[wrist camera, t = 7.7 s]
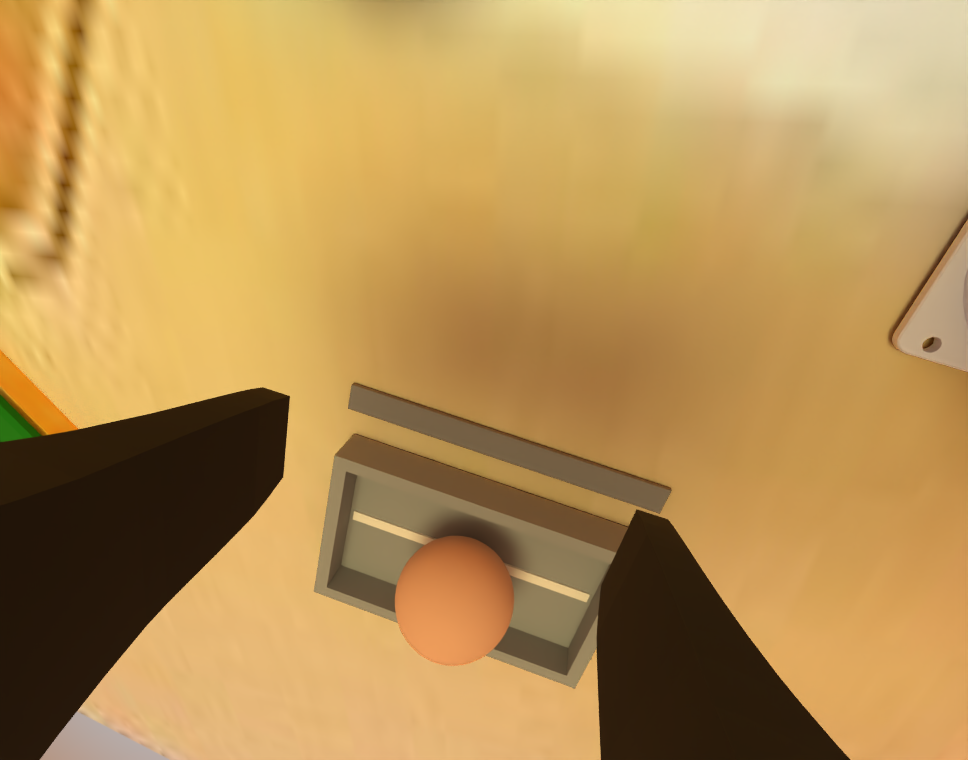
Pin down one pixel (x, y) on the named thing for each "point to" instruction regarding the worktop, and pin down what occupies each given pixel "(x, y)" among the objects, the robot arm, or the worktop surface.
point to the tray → (476, 514)
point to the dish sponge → (26, 407)
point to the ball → (454, 600)
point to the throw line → (509, 448)
